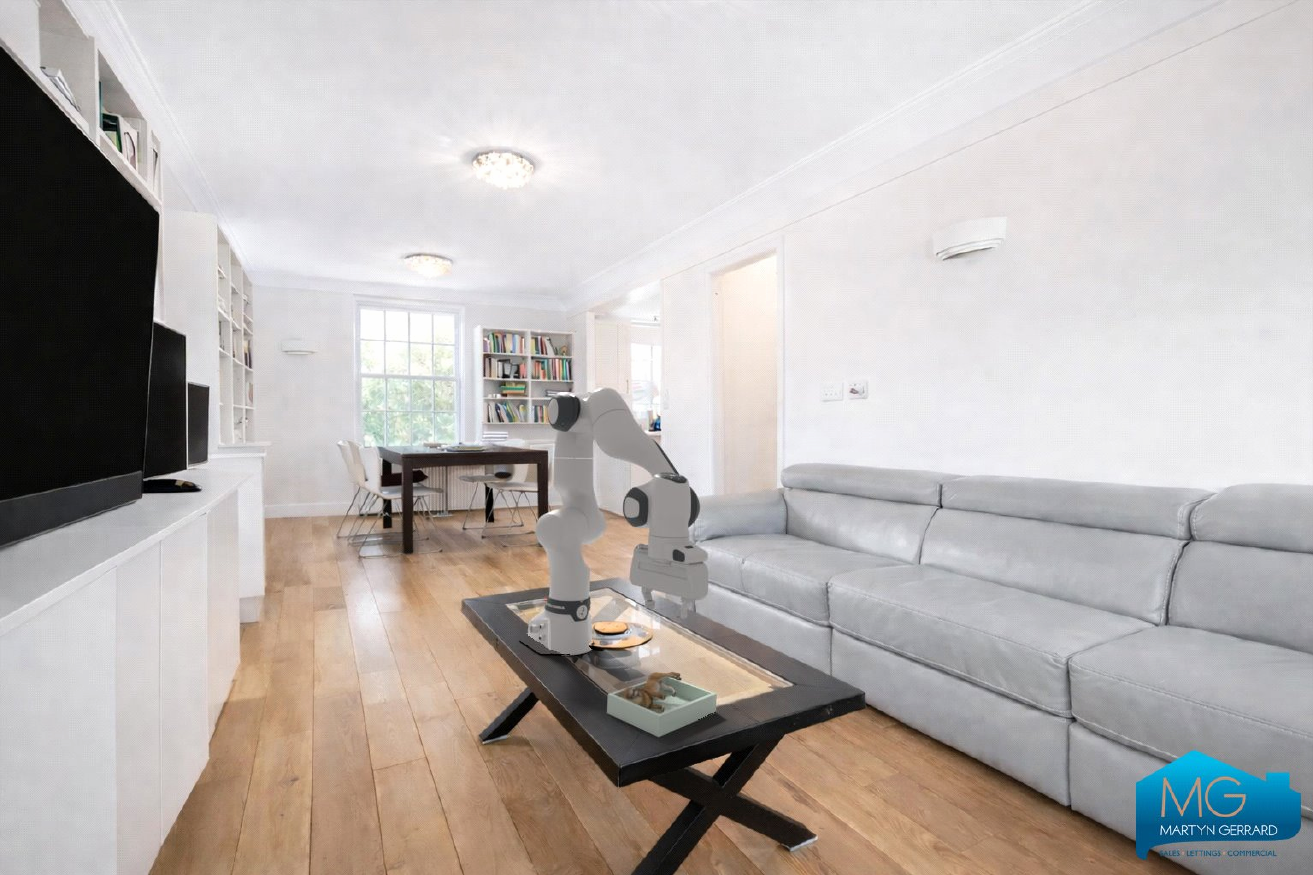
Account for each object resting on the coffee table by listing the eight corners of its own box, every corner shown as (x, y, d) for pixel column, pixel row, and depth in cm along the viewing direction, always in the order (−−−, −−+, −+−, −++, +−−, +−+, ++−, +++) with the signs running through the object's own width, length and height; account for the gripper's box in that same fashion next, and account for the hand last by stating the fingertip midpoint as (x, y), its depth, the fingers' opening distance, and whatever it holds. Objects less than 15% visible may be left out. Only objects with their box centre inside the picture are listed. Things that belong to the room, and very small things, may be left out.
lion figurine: (656, 697, 129) (617, 686, 132) (655, 722, 129) (616, 710, 133) (684, 668, 142) (648, 659, 146) (683, 691, 142) (647, 681, 146)
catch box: (606, 713, 133) (607, 693, 134) (664, 692, 146) (665, 674, 147) (658, 737, 123) (659, 716, 123) (715, 712, 136) (716, 693, 136)
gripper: (624, 543, 141) (621, 605, 141) (694, 556, 127) (691, 626, 127) (644, 541, 146) (641, 601, 145) (714, 554, 131) (711, 621, 131)
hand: (665, 613), depth 136 cm, fingers open, 8 cm apart
